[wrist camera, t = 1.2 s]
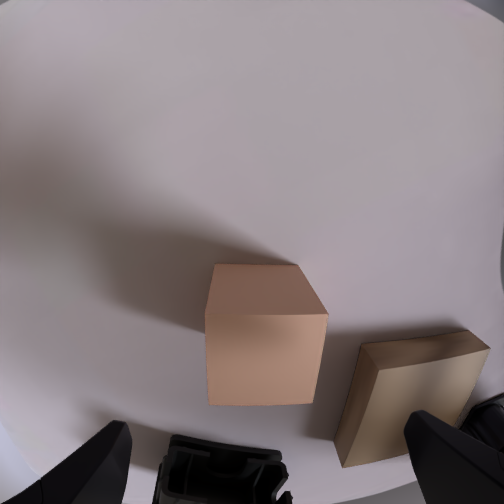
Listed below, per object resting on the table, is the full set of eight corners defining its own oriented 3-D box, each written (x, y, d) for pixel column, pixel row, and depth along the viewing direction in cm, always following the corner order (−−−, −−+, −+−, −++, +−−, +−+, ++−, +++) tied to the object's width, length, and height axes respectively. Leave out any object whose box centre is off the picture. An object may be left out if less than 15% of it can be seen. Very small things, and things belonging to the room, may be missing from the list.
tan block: (469, 330, 19) (490, 348, 16) (430, 421, 21) (444, 441, 19) (361, 343, 18) (379, 370, 15) (333, 441, 21) (342, 468, 18)
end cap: (158, 472, 21) (148, 530, 15) (165, 430, 20) (151, 500, 13) (262, 489, 23) (268, 544, 16) (288, 450, 21) (301, 516, 14)
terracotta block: (298, 265, 17) (328, 314, 11) (291, 336, 18) (312, 403, 12) (215, 263, 16) (204, 313, 11) (215, 335, 18) (208, 404, 12)
